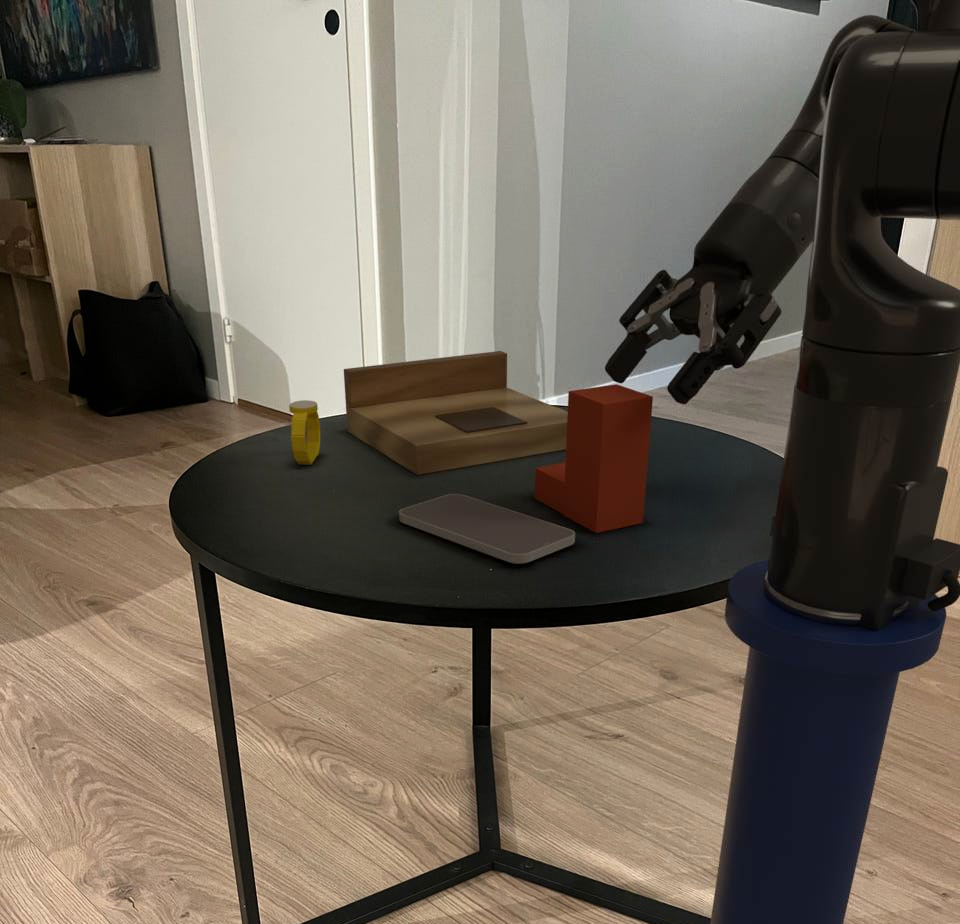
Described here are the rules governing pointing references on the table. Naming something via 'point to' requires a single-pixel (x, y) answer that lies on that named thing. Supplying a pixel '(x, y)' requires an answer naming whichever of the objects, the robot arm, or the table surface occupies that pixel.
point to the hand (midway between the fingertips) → (642, 386)
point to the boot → (601, 459)
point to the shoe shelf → (449, 413)
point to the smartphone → (488, 528)
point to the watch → (304, 417)
